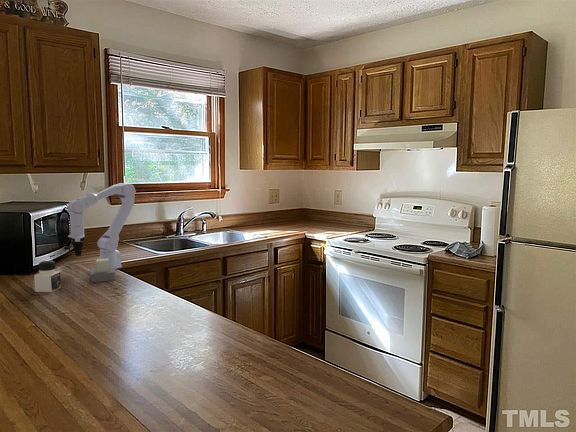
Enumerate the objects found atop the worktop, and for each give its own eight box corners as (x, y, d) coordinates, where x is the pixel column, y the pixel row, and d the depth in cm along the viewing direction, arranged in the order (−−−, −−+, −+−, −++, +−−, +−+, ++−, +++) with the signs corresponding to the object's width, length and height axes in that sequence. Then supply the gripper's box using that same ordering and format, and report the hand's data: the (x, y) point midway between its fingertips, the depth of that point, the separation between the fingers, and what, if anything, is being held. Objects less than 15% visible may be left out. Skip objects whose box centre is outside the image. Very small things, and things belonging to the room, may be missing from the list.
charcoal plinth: (92, 277, 205) (91, 269, 204) (115, 275, 208) (115, 267, 208) (90, 282, 196) (90, 274, 195) (115, 281, 199) (114, 272, 199)
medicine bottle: (52, 292, 180) (50, 263, 178) (34, 292, 180) (33, 263, 178) (61, 287, 187) (60, 259, 185) (44, 287, 187) (43, 259, 185)
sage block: (97, 269, 203) (96, 259, 202) (108, 268, 205) (108, 258, 204) (96, 272, 198) (96, 261, 198) (108, 271, 200) (108, 260, 200)
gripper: (68, 224, 211) (69, 252, 213) (67, 228, 198) (68, 258, 200) (84, 223, 214) (85, 250, 216) (84, 227, 201) (85, 256, 203)
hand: (78, 254), depth 208 cm, fingers open, 7 cm apart
